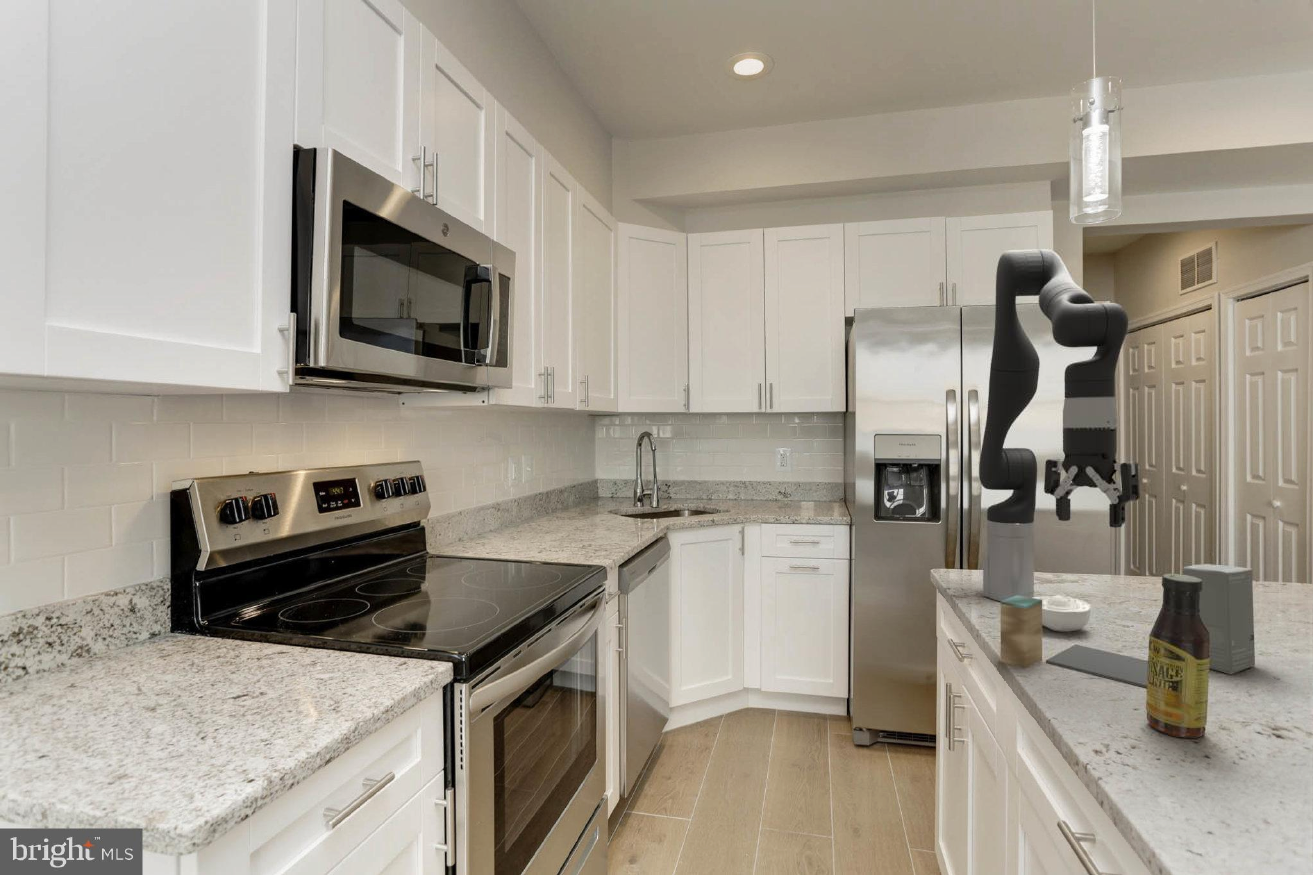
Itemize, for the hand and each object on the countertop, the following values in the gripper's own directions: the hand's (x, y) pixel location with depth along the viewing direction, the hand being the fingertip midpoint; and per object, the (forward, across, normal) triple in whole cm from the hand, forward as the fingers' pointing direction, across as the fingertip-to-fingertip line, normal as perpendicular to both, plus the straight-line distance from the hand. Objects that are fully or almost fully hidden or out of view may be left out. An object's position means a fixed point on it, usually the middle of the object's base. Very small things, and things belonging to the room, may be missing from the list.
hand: (1089, 523), depth 113 cm
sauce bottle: (+23, +21, -16) cm, 35 cm away
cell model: (+23, -13, +11) cm, 28 cm away
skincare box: (+23, +11, +16) cm, 30 cm away
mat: (+22, +4, 0) cm, 23 cm away
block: (+22, -5, -10) cm, 25 cm away
